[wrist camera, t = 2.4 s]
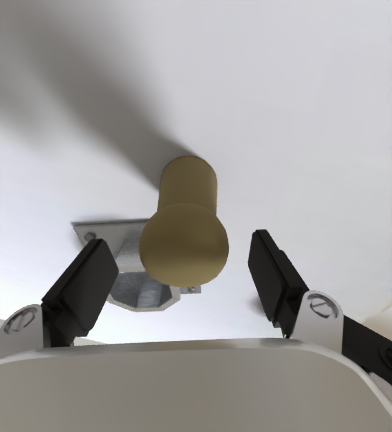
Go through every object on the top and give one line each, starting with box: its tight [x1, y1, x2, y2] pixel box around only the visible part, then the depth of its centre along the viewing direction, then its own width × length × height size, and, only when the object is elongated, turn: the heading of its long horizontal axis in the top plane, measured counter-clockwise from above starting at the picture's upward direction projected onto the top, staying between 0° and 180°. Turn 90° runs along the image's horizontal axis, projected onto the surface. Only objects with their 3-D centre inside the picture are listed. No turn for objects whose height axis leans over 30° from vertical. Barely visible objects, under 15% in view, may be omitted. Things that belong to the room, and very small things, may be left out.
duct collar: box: [73, 222, 201, 312], centre depth 22 cm, size 15×15×5 cm
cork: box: [139, 156, 229, 287], centre depth 13 cm, size 6×6×11 cm
